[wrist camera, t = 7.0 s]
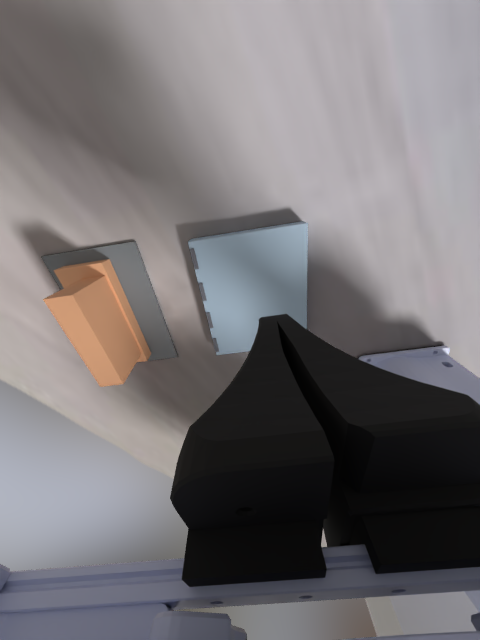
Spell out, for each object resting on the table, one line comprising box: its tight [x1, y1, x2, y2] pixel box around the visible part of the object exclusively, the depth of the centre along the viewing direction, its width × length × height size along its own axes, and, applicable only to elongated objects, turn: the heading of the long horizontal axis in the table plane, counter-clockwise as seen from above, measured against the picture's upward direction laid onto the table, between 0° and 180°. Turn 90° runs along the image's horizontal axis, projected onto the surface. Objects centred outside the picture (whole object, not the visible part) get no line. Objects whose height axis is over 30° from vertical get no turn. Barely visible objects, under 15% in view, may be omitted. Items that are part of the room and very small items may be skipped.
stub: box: [43, 259, 151, 387], centre depth 18 cm, size 4×10×5 cm, turn 8°
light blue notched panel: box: [188, 221, 308, 355], centre depth 19 cm, size 9×11×2 cm
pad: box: [41, 241, 178, 362], centre depth 21 cm, size 8×12×1 cm, turn 8°
